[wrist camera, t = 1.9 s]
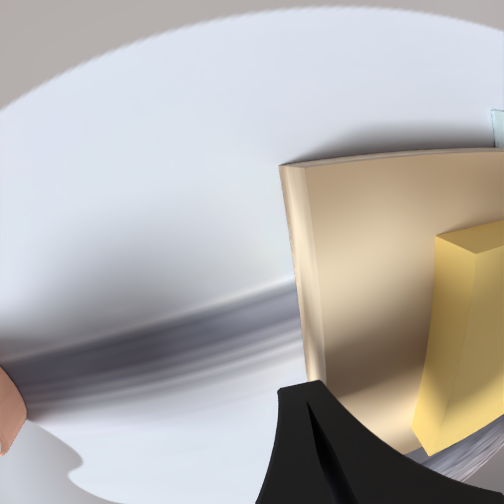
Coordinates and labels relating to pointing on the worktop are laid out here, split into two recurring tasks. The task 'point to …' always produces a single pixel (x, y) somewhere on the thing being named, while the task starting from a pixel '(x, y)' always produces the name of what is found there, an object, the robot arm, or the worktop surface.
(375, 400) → the tan flat block
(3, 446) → the salt shaker
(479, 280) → the yellow rectangular block
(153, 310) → the worktop surface
